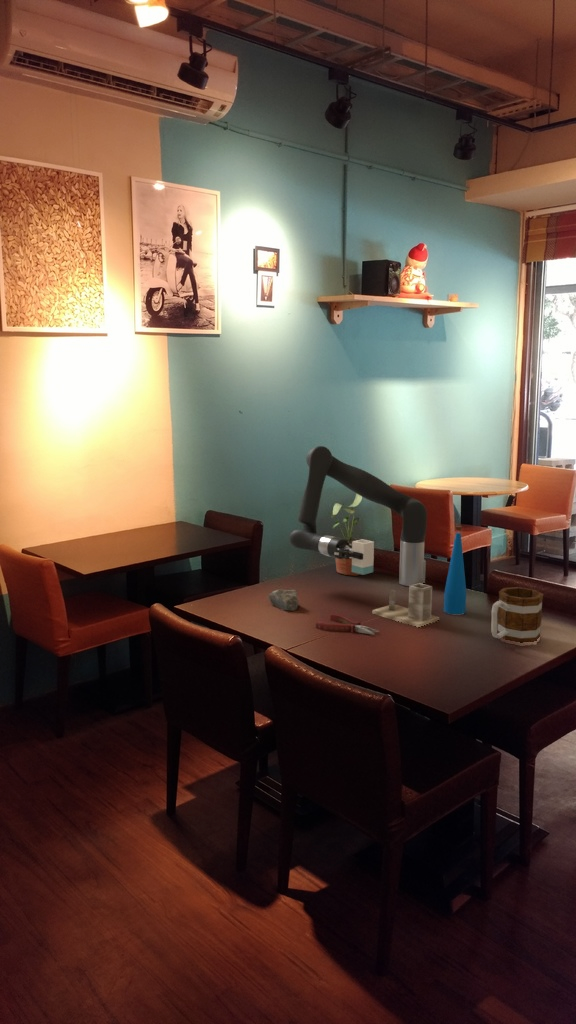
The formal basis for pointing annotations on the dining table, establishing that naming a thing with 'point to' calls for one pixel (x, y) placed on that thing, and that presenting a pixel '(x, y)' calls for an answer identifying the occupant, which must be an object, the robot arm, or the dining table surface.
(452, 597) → the bottle
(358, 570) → the sleeve
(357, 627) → the pliers
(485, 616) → the dining table surface
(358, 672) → the dining table surface
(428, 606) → the peg socket fixture
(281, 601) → the rock
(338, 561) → the potted plant
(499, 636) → the mug
